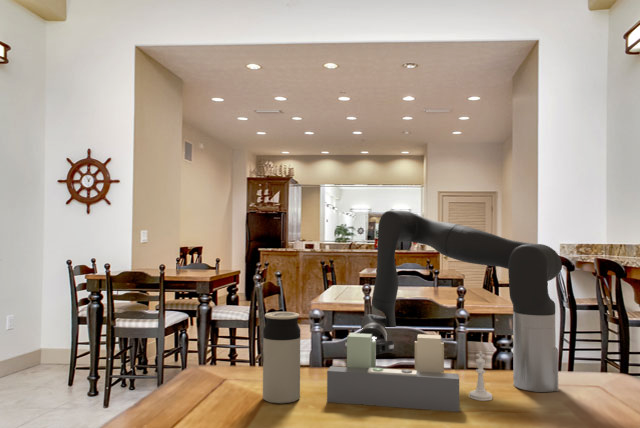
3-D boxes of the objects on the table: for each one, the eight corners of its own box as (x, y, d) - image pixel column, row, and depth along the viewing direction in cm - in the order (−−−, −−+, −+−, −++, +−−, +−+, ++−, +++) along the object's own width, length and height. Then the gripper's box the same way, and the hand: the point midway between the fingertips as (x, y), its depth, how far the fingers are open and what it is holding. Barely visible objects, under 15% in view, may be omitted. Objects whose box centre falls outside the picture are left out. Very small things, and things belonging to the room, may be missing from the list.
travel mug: (306, 396, 116) (306, 313, 117) (288, 406, 109) (289, 318, 109) (274, 391, 119) (275, 310, 120) (255, 401, 112) (256, 315, 113)
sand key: (443, 383, 119) (443, 334, 119) (444, 390, 114) (444, 338, 114) (414, 382, 120) (414, 333, 121) (413, 388, 115) (414, 337, 116)
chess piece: (493, 401, 113) (493, 354, 113) (469, 399, 114) (469, 352, 114) (491, 394, 118) (491, 349, 118) (468, 393, 119) (468, 348, 119)
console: (456, 394, 118) (456, 362, 118) (459, 411, 106) (459, 376, 107) (337, 385, 124) (337, 355, 124) (327, 401, 112) (327, 368, 112)
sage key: (375, 382, 120) (375, 333, 120) (373, 389, 115) (373, 337, 115) (347, 380, 121) (347, 331, 121) (343, 387, 116) (344, 336, 116)
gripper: (348, 323, 146) (338, 335, 129) (397, 325, 143) (393, 338, 126) (348, 351, 145) (337, 366, 128) (397, 353, 143) (393, 370, 126)
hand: (365, 352), depth 127 cm, fingers closed
